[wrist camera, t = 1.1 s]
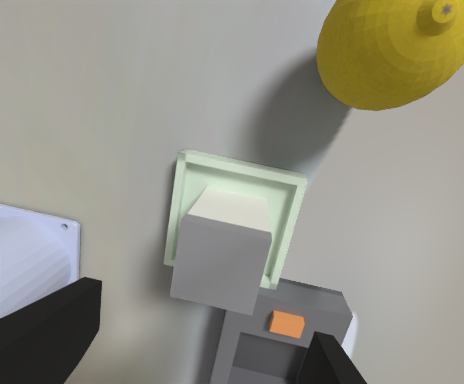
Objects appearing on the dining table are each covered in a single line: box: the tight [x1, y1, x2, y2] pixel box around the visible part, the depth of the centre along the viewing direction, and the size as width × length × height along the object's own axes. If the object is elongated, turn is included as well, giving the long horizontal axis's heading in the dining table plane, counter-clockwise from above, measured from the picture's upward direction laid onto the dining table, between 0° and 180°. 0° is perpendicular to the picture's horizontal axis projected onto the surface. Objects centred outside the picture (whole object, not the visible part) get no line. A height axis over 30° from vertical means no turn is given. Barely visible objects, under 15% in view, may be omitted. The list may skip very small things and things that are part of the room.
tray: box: [163, 149, 308, 290], centre depth 18 cm, size 8×8×2 cm
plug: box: [170, 186, 272, 316], centre depth 15 cm, size 4×4×6 cm
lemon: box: [316, 0, 464, 111], centre depth 12 cm, size 6×6×8 cm
